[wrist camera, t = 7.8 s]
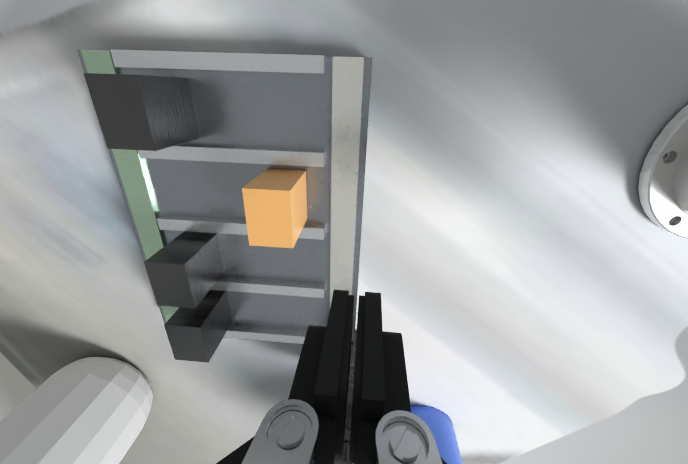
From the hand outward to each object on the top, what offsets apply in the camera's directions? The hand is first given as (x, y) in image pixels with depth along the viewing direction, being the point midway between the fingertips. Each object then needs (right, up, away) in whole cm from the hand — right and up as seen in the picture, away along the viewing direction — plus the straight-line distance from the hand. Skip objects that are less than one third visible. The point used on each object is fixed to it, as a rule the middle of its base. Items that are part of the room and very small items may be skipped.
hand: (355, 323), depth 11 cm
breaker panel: (-9, +5, +16) cm, 19 cm away
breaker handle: (-5, +6, +13) cm, 15 cm away
